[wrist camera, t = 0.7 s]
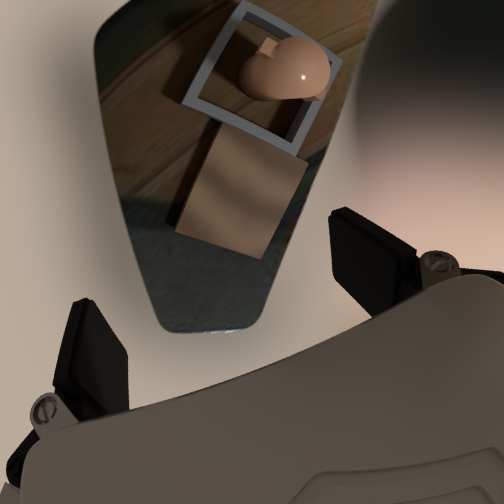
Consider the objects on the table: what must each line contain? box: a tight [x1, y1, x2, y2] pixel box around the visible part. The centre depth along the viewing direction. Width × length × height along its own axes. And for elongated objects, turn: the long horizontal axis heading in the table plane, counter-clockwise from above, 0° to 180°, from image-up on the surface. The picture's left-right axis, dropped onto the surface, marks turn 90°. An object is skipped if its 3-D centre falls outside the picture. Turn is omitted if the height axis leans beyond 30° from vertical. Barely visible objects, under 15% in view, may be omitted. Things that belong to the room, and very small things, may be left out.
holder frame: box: [180, 0, 343, 157], centre depth 29 cm, size 14×14×2 cm
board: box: [174, 122, 309, 259], centre depth 35 cm, size 14×12×1 cm
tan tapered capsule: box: [238, 36, 330, 101], centre depth 26 cm, size 6×9×10 cm, turn 63°
